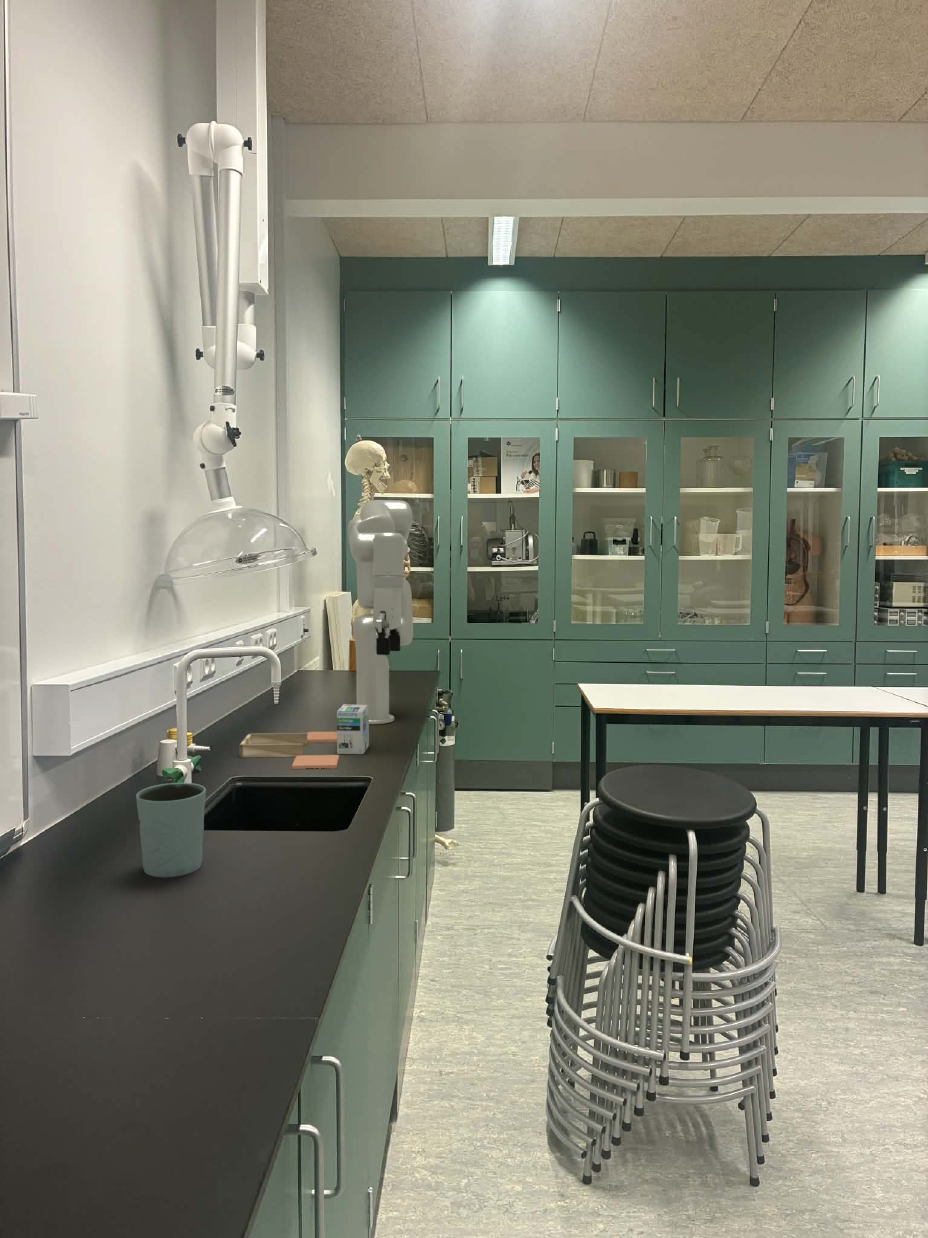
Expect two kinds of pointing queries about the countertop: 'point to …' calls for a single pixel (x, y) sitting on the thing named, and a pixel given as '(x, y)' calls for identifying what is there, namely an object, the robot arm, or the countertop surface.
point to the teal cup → (171, 828)
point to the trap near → (315, 761)
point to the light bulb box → (352, 729)
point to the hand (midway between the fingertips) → (388, 652)
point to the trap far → (321, 737)
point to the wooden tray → (272, 745)
